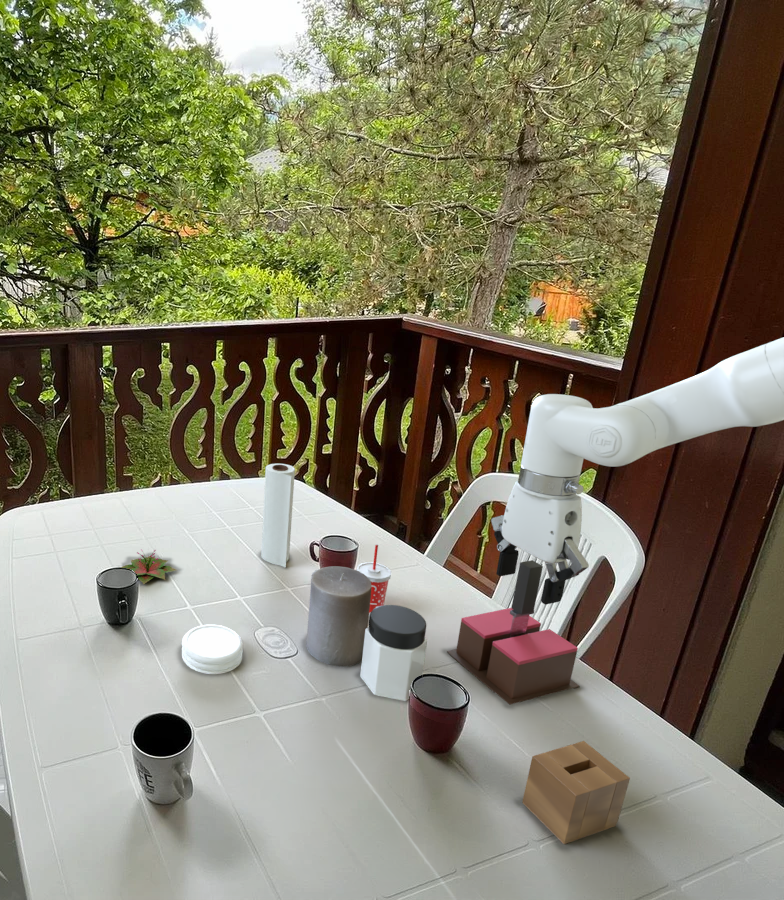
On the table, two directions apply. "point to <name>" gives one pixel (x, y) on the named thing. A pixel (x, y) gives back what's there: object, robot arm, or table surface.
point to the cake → (514, 657)
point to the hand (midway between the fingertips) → (527, 587)
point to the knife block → (575, 791)
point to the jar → (393, 651)
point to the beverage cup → (376, 580)
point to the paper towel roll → (277, 513)
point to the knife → (524, 596)
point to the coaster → (212, 649)
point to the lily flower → (149, 567)
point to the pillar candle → (338, 615)
